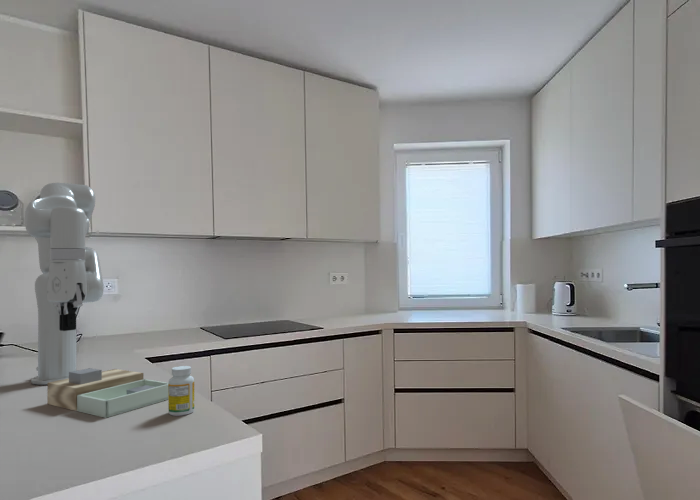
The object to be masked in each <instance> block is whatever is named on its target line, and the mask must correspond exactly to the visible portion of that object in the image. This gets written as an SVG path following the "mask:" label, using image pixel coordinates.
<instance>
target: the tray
mask: <svg viewBox="0 0 700 500" xmlns="http://www.w3.org/2000/svg"><path fill="white" fill-rule="evenodd" d="M145 385H147V386H153V387H154V388H151V389H147V390H143V391H139V392H135V393H131V394H128V395H127V390H128V389H132V388H136V387H141V386H145ZM164 400H165V401H168V382H166V381H158V380H155V379H154V380H153V379H146V378H144V379H143V380H139V381H135V382H131V383H126V384H122V385H118V386H114V387H110V388H105V389H101V390H97V391H93V392H89V393H84V394H80V395H77V412H79V413H84V414H89V415H92V416H95V417H100V418H104V419H106V418H110V417H114V416H118V415H121V414H124V413H127V412H131V411H134V410H138V409H141V408H144V407H148V406H150V405H154V404H157V403H160V402H164Z"/></svg>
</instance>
